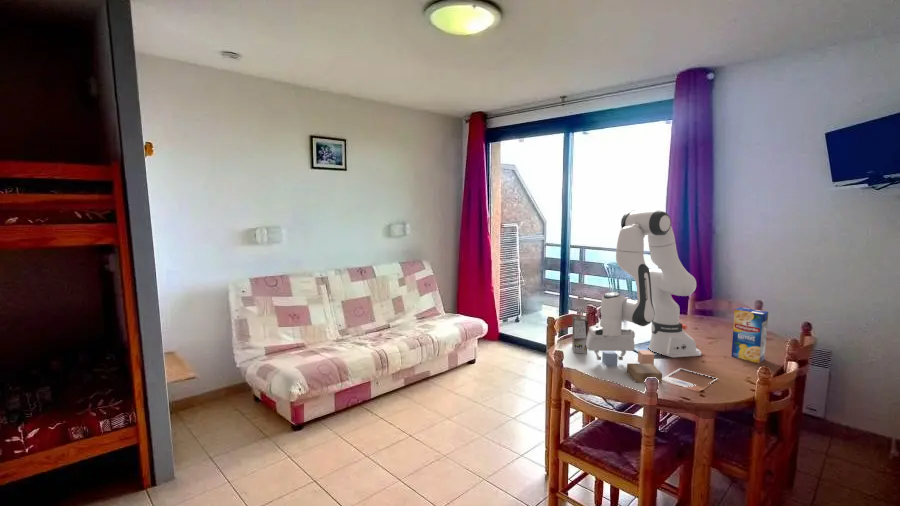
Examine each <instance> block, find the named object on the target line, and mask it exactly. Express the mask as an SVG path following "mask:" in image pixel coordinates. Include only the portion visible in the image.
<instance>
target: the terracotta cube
mask: <svg viewBox="0 0 900 506" xmlns="http://www.w3.org/2000/svg"><path fill="white" fill-rule="evenodd" d="M637 362H638V364H653V365H654V366H655V353H654V352H652V351H650V350H649V349H647V350H645V349H644V350H643V349H641V350H640V349H639V350H637Z"/></svg>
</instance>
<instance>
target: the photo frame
mask: <svg viewBox="0 0 900 506" xmlns="http://www.w3.org/2000/svg"><path fill="white" fill-rule="evenodd" d="M680 370H682V371H686V372H689V373H692V372H693V373H692V374H696V373H697V374H696V375H699V374H700V376H703V375H705V376H704V377H706V376H708V377H707V378H710V377H712V378H711V379H713V380H712V381H710V382H709V383H710V384H711V382H713V381H715V380H717V379H718V380H719V378H717V377H713V376H710V375H708V374H703V373H699V372H696V371H691V370H689V369H685V368H682V367H679V368H677V369H675V370H673V371H672V372H670V373H668V374H667V375H665V376H664V377H662V382H663V381H665V382H664V383H666V382H669V383H668V384H670V383H672V384H671V385H673V384H676V385H679V386H683V387H688V386H689V387H693V386H694V385H695V386H696V385H697V384H695V383H692V382H688V381H685V380H681V379H678V378H676V377H672V376H673V375H674V373H675V374H676V373H678V372H680ZM672 374H673V375H672ZM669 376H670V377H669ZM714 378H716V379H714ZM718 380H717V381H718ZM693 384H694V385H693ZM676 385H675V386H676ZM711 385H712V384H711ZM679 386H678V387H679Z"/></svg>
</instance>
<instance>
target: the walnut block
mask: <svg viewBox="0 0 900 506" xmlns="http://www.w3.org/2000/svg"><path fill="white" fill-rule="evenodd" d="M626 363H627V362H626ZM626 374H628V376H629V377H630V378H631V379H632V380H633V381H634V382H635V383H637V384H639V383H641V384H642V383H643V384H645V383H644V381H645V379H646V378H647V377H656V378H657V379H658V380H659V382H660V383H659V384H662V382H663V381H662V378H663V372H661V371H660V370H659V368H657V367H656V366H655V364H654V365H653V364H640V363H627V364H626Z"/></svg>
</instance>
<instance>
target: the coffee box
mask: <svg viewBox="0 0 900 506" xmlns="http://www.w3.org/2000/svg"><path fill="white" fill-rule="evenodd" d="M588 333H589V320H588V317H587V316H586V315H572V339H571V340H572V346H571V347H572V351H573V354H585V355H586V354H588V349H587V347H586V340H587V335H588Z"/></svg>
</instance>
